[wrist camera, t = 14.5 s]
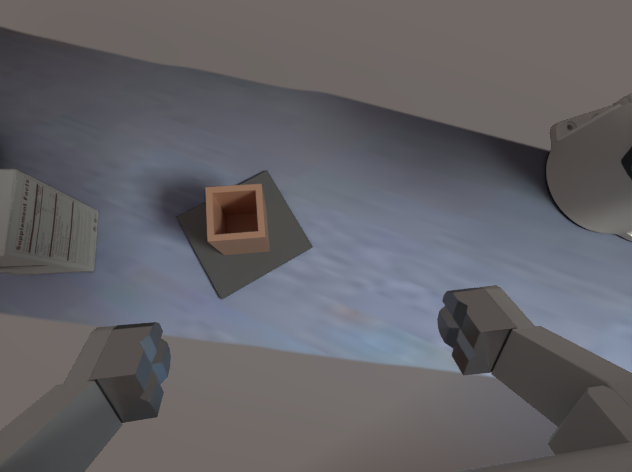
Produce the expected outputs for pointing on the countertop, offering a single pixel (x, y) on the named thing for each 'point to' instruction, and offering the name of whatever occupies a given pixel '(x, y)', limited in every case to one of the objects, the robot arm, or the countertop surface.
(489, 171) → the countertop surface
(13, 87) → the countertop surface
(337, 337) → the countertop surface
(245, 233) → the open square container
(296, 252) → the mat
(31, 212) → the supplement box
